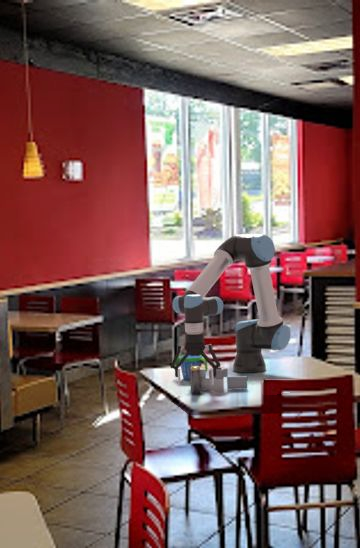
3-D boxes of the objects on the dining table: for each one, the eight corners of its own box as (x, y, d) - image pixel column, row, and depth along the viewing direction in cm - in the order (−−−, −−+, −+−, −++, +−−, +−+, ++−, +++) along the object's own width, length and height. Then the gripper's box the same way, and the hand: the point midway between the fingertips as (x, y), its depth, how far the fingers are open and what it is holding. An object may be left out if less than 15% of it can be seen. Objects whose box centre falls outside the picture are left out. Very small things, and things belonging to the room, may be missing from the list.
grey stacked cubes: (209, 390, 341) (208, 370, 340) (209, 387, 347) (209, 367, 346) (247, 389, 340) (246, 369, 339) (246, 386, 346) (246, 366, 345)
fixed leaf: (193, 388, 347) (192, 367, 347) (223, 388, 346) (223, 367, 346) (192, 391, 342) (191, 370, 341) (223, 391, 341) (222, 369, 340)
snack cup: (170, 379, 369) (169, 356, 368) (183, 375, 377) (182, 353, 377) (199, 382, 360) (198, 359, 359) (212, 378, 368) (211, 355, 368)
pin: (192, 393, 338) (191, 366, 338) (201, 393, 338) (200, 366, 337) (191, 395, 335) (190, 368, 334) (200, 395, 334) (199, 367, 334)
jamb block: (191, 387, 350) (190, 366, 349) (205, 387, 349) (205, 366, 349) (190, 389, 345) (190, 369, 344) (205, 389, 345) (204, 368, 344)
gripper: (162, 334, 332) (164, 387, 333) (225, 333, 330) (226, 386, 331) (164, 332, 339) (166, 383, 341) (225, 331, 337) (226, 382, 339)
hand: (196, 384), depth 336 cm, fingers open, 13 cm apart
